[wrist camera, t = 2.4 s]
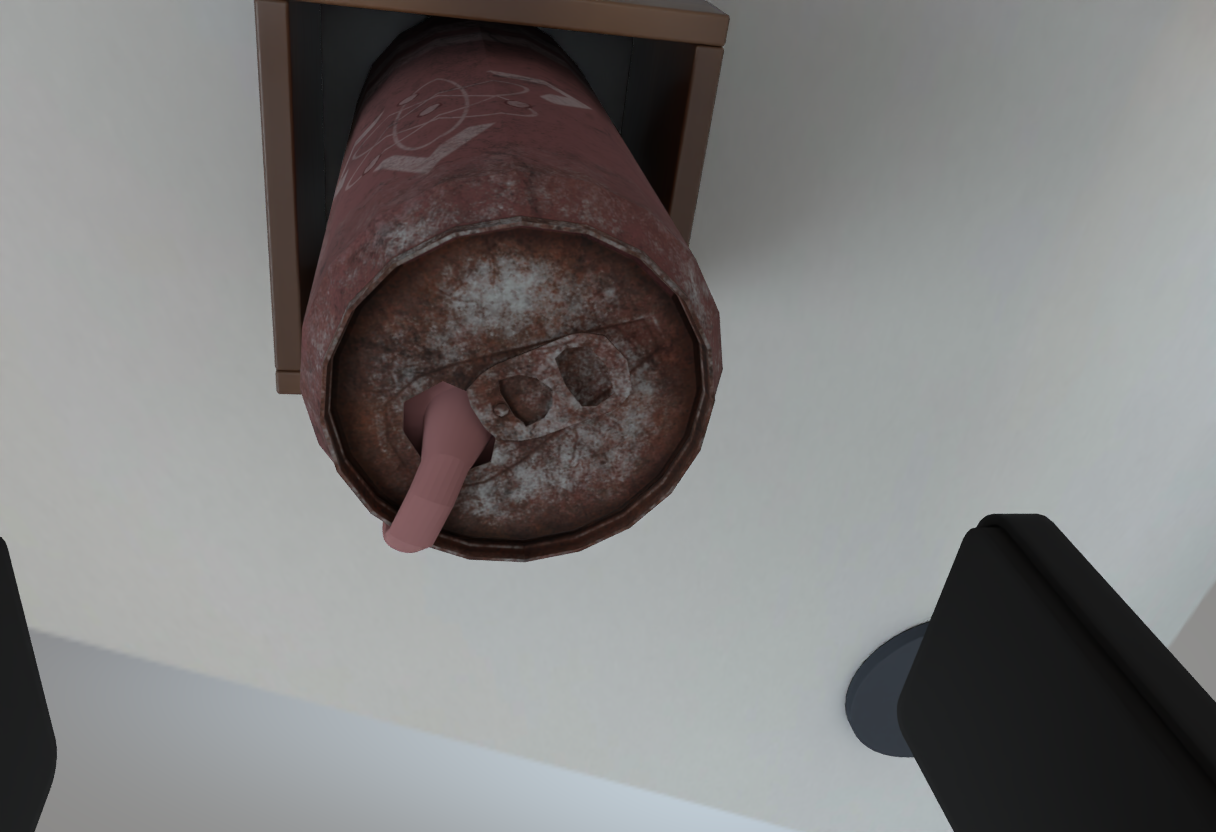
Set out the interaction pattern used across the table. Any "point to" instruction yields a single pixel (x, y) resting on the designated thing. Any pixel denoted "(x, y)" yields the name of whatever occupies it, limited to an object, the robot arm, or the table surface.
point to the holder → (596, 3)
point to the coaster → (883, 693)
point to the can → (502, 306)
